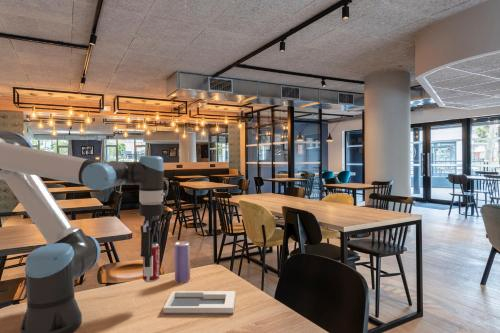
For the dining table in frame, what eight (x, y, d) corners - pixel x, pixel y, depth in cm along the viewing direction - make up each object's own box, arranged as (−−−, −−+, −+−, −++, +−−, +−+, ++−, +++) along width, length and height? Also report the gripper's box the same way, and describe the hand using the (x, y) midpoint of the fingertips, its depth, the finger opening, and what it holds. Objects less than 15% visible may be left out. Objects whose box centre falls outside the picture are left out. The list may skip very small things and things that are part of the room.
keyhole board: (163, 314, 100) (163, 307, 100) (173, 297, 112) (172, 291, 112) (233, 314, 99) (233, 307, 99) (235, 297, 111) (235, 291, 111)
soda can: (154, 283, 102) (154, 246, 102) (139, 281, 103) (139, 245, 103) (161, 277, 107) (162, 242, 107) (147, 275, 108) (148, 240, 108)
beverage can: (182, 284, 122) (182, 246, 122) (171, 281, 126) (171, 243, 125) (193, 279, 127) (192, 242, 127) (182, 276, 131) (182, 240, 130)
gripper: (154, 207, 95) (153, 284, 96) (170, 199, 113) (169, 263, 114) (129, 207, 95) (129, 283, 96) (149, 198, 113) (148, 262, 114)
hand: (151, 272), depth 105 cm, fingers closed on soda can, 5 cm apart
